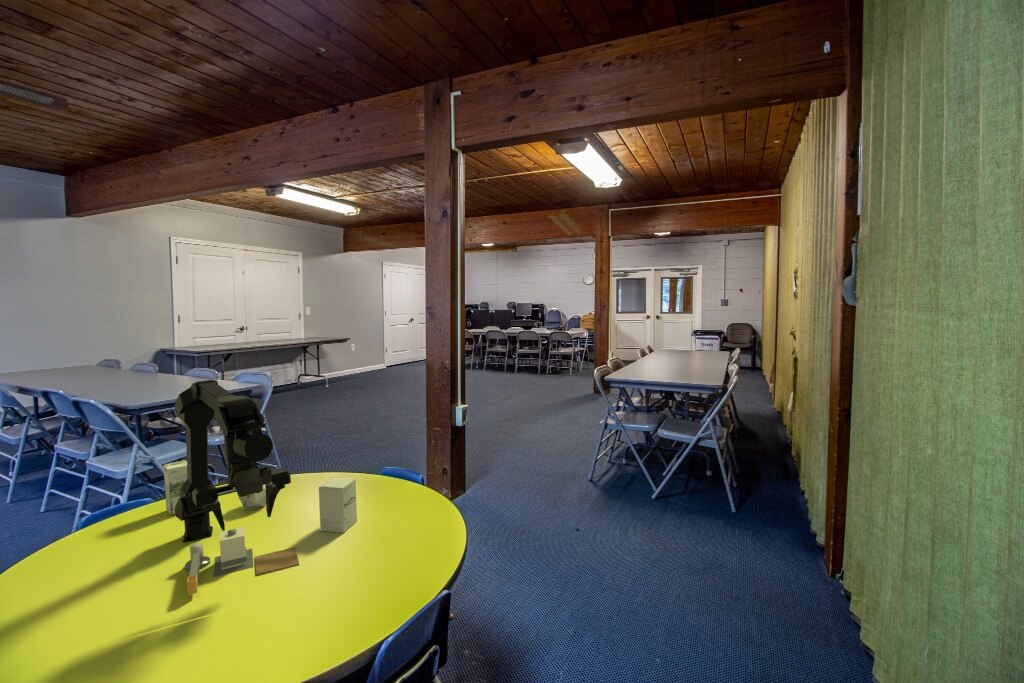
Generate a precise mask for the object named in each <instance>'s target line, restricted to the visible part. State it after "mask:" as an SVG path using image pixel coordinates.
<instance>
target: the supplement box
mask: <svg viewBox="0 0 1024 683" xmlns="http://www.w3.org/2000/svg"><path fill="white" fill-rule="evenodd" d="M356 481H357V480H356V478H350V477H348V478H347V477H346V478H345V477H332V478H331V479H329V480H327V481H325V482H324V483H323V484H321V485H320V486H318V500H319V502H318V503H319V504H318V506H319V507H318V508H319V523H320V524H319V527H320V528H319V529H320V531H321V532H329V533H339V534H340V533H341V534H344V533H345V532H346V531H347V530H348V529H350V528H351V527H352V526H353V525H355V523H357V522H358V511H357V510H358V509H357V507H358V505H357V482H356Z"/></svg>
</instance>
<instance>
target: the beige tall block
mask: <svg viewBox="0 0 1024 683" xmlns="http://www.w3.org/2000/svg"><path fill="white" fill-rule="evenodd" d="M219 534H220V535H219V550H220V556H221V557H220V568H222V570H223V569H227V568H231V567H235V566H239V565H243V564H246V562H247V553H246V550H247V546H246V539H245V527H244V526H242V527H239V528H232V529H229V530H225V531H221V532H220V533H219Z"/></svg>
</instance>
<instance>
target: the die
mask: <svg viewBox="0 0 1024 683" xmlns="http://www.w3.org/2000/svg"><path fill="white" fill-rule="evenodd" d="M238 499H239V501H240V503H241V505H242V506H243V508H244V510H245V511H250V510H255V509H260V508H266V487H265V485H263V491H262V492H260V493H253V494H249V495H247V496H245V497H240V496H238Z"/></svg>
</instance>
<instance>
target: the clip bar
mask: <svg viewBox="0 0 1024 683" xmlns="http://www.w3.org/2000/svg"><path fill="white" fill-rule="evenodd" d="M189 550H190V551H189V554H190V560H191V569H190V571H189V576H187V580H186V581H187V582H186V586H187V587H186V588H187V595H188V596H190V595H194V594H197V593H198V586H199V585H198V581H199V573H200V569H199V568H200V562H202V561H203V560H204V554H205V552H204V544H203V542H196V543H193V544H191V545H190V546H189Z"/></svg>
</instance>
